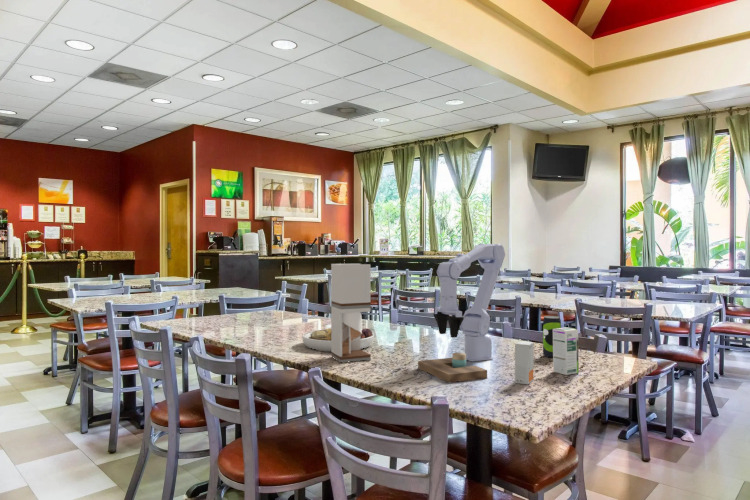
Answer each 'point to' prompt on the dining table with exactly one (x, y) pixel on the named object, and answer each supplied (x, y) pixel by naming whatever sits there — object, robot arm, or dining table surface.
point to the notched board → (451, 370)
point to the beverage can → (549, 334)
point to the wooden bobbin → (459, 360)
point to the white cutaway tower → (349, 310)
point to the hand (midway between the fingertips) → (448, 335)
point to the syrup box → (565, 351)
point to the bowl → (323, 339)
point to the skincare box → (524, 362)
